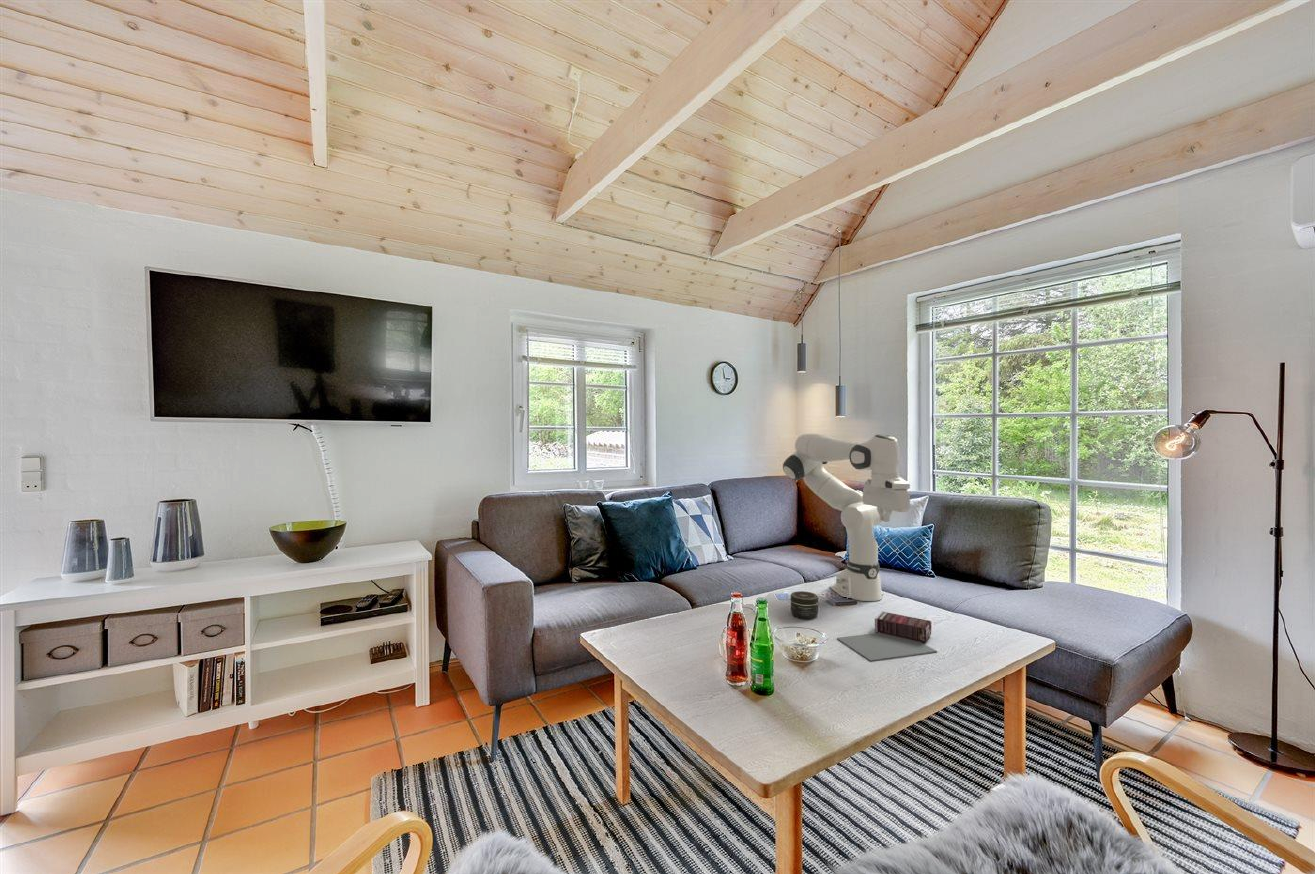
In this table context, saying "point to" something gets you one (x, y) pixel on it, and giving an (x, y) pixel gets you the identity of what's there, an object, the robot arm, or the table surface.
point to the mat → (885, 646)
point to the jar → (804, 605)
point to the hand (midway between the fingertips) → (884, 521)
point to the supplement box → (903, 626)
